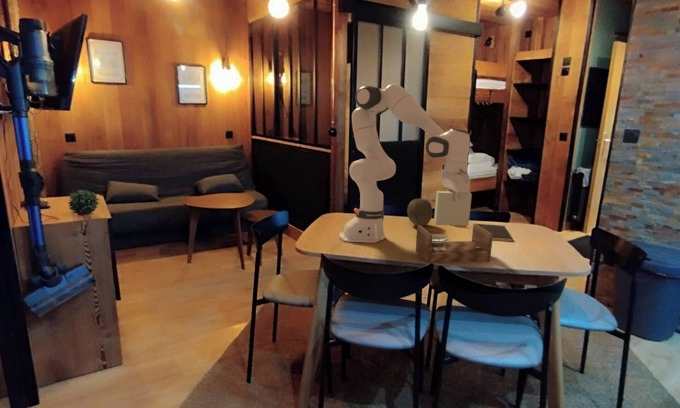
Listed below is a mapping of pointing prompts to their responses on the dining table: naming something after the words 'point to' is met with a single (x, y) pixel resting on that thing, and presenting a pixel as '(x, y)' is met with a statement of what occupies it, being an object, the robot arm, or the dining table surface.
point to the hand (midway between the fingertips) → (453, 200)
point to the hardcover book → (497, 232)
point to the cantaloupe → (420, 212)
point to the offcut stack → (456, 247)
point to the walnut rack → (478, 255)
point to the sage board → (452, 209)
